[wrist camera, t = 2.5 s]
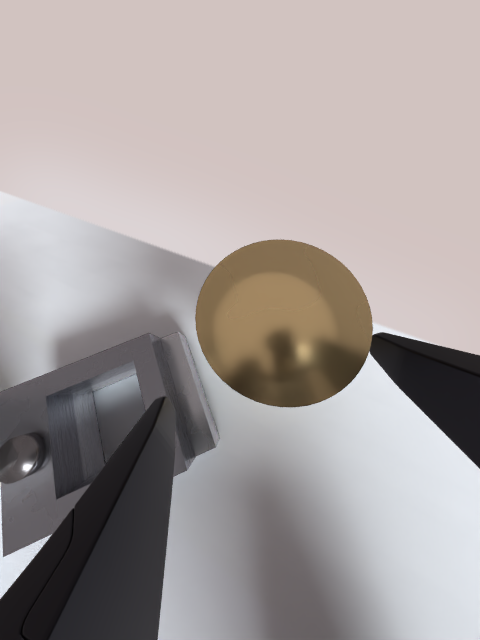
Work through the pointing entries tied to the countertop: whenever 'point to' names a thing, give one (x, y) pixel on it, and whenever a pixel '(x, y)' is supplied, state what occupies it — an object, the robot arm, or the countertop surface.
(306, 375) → the brass pin
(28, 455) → the gray open box
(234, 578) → the countertop surface
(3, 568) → the countertop surface
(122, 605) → the robot arm
